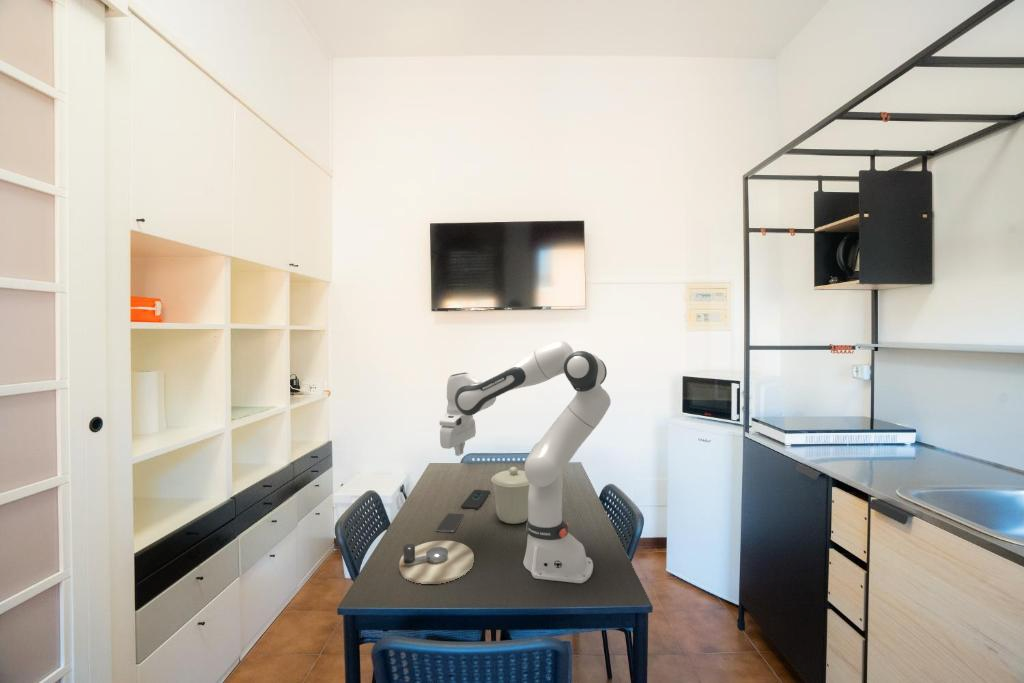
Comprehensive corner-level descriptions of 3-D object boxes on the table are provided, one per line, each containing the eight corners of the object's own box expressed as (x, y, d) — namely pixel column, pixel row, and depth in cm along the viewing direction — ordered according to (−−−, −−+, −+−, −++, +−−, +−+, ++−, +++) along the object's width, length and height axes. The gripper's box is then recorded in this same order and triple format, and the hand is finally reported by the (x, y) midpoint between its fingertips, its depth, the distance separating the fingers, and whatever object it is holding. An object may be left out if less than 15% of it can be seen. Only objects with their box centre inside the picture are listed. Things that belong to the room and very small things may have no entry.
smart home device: (490, 490, 197) (478, 507, 177) (490, 493, 197) (478, 511, 177) (474, 489, 198) (460, 505, 179) (474, 492, 198) (460, 509, 179)
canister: (532, 530, 158) (532, 475, 158) (486, 526, 162) (486, 473, 162) (538, 511, 176) (538, 461, 176) (497, 507, 180) (497, 459, 179)
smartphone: (464, 513, 173) (453, 531, 157) (464, 516, 173) (453, 533, 157) (447, 512, 174) (435, 529, 158) (447, 515, 174) (435, 532, 158)
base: (486, 552, 143) (486, 547, 143) (450, 592, 121) (449, 586, 121) (427, 539, 152) (426, 535, 152) (383, 574, 130) (383, 569, 130)
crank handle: (444, 550, 141) (444, 534, 141) (450, 560, 134) (450, 543, 134) (401, 559, 135) (401, 542, 135) (405, 570, 129) (405, 553, 129)
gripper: (465, 411, 162) (465, 446, 163) (436, 421, 144) (436, 461, 144) (479, 412, 160) (479, 448, 160) (452, 423, 141) (452, 463, 141)
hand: (459, 454), depth 152 cm, fingers closed
